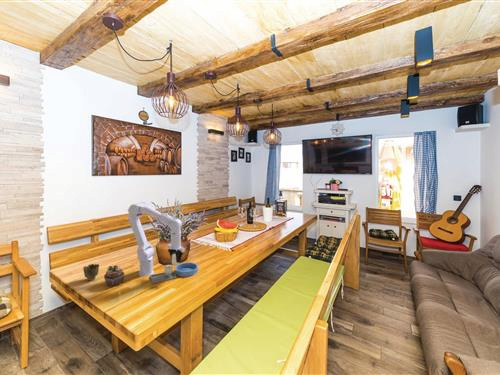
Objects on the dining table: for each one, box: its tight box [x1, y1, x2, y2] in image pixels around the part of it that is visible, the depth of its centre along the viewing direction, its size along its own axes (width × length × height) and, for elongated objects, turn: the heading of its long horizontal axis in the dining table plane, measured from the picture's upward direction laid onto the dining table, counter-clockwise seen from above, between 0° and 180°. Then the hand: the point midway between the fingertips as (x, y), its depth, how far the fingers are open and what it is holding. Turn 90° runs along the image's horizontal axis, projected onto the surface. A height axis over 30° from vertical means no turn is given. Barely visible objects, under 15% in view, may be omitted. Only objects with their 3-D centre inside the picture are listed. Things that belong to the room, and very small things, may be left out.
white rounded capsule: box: [171, 254, 181, 266], centre depth 134 cm, size 4×4×6 cm
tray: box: [149, 270, 178, 285], centre depth 131 cm, size 10×13×1 cm
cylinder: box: [164, 264, 173, 277], centre depth 134 cm, size 4×4×6 cm
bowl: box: [174, 261, 199, 278], centre depth 140 cm, size 14×14×4 cm
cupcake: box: [103, 265, 125, 288], centre depth 124 cm, size 10×10×10 cm
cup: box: [82, 263, 100, 281], centre depth 127 cm, size 8×7×8 cm
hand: (175, 261), depth 135 cm, fingers closed on white rounded capsule, 4 cm apart
